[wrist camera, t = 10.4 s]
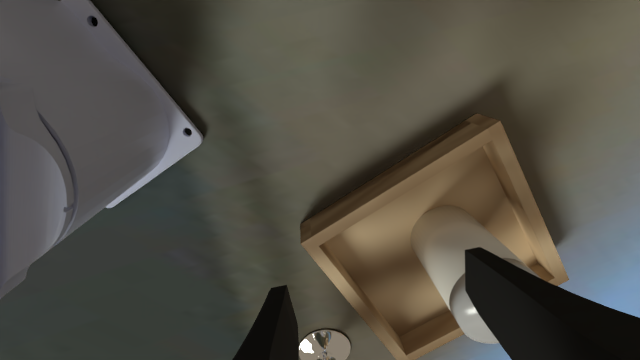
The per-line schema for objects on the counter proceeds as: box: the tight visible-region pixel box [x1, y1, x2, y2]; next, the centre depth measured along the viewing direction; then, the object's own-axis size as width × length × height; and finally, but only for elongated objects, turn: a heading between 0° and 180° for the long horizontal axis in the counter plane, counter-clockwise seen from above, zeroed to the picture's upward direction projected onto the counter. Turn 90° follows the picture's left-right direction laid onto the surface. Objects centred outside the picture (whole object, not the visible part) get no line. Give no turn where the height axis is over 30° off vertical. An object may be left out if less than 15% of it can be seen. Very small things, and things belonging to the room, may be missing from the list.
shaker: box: [411, 205, 540, 344], centre depth 19 cm, size 5×5×7 cm
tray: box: [300, 113, 569, 360], centre depth 22 cm, size 14×14×2 cm
